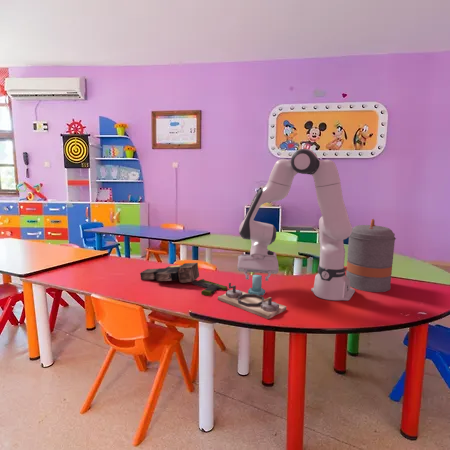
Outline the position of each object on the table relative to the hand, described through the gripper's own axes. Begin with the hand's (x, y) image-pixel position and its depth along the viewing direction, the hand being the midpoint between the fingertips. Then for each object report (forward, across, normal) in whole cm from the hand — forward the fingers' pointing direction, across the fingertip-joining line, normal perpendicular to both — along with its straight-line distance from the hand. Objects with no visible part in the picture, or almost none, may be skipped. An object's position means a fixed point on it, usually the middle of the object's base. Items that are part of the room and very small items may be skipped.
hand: (256, 279), depth 156 cm
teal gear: (+5, 0, +4) cm, 6 cm away
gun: (+4, -26, +6) cm, 26 cm away
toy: (-2, -47, +12) cm, 48 cm away
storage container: (-12, +57, +20) cm, 62 cm away
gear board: (+16, -2, -7) cm, 17 cm away
